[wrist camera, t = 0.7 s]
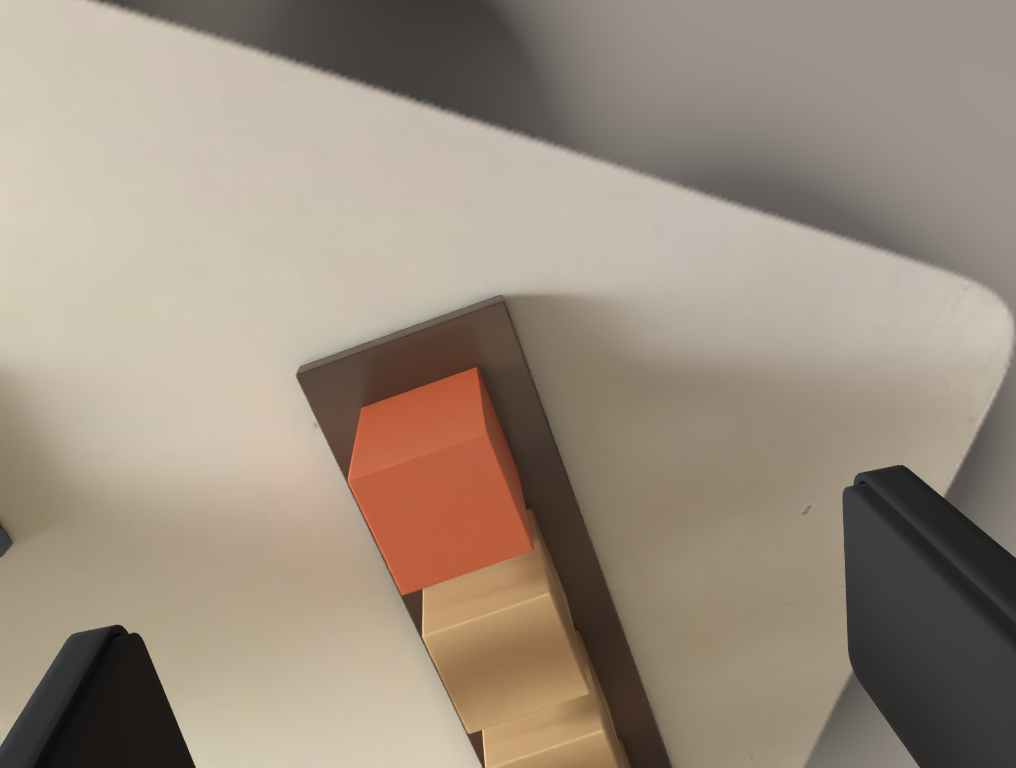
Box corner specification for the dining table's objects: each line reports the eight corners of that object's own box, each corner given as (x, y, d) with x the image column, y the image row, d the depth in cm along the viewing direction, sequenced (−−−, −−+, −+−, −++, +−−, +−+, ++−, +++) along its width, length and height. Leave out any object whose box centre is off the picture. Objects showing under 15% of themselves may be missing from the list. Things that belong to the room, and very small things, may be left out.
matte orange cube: (360, 407, 27) (346, 480, 23) (477, 365, 27) (487, 430, 22) (406, 509, 29) (402, 596, 24) (518, 470, 28) (534, 551, 24)
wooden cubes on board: (298, 366, 27) (266, 443, 22) (502, 293, 27) (520, 353, 22) (531, 858, 36) (549, 999, 31) (686, 807, 36) (732, 940, 31)
